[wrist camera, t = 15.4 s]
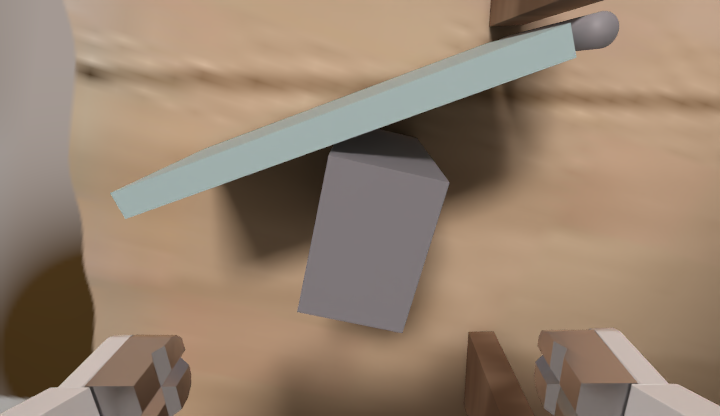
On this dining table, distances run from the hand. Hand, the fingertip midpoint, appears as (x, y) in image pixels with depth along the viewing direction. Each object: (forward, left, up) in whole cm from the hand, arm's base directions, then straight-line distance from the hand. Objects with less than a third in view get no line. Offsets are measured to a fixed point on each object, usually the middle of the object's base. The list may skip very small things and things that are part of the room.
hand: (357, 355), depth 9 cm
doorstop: (0, 0, -14) cm, 14 cm away
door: (0, -5, -13) cm, 14 cm away
